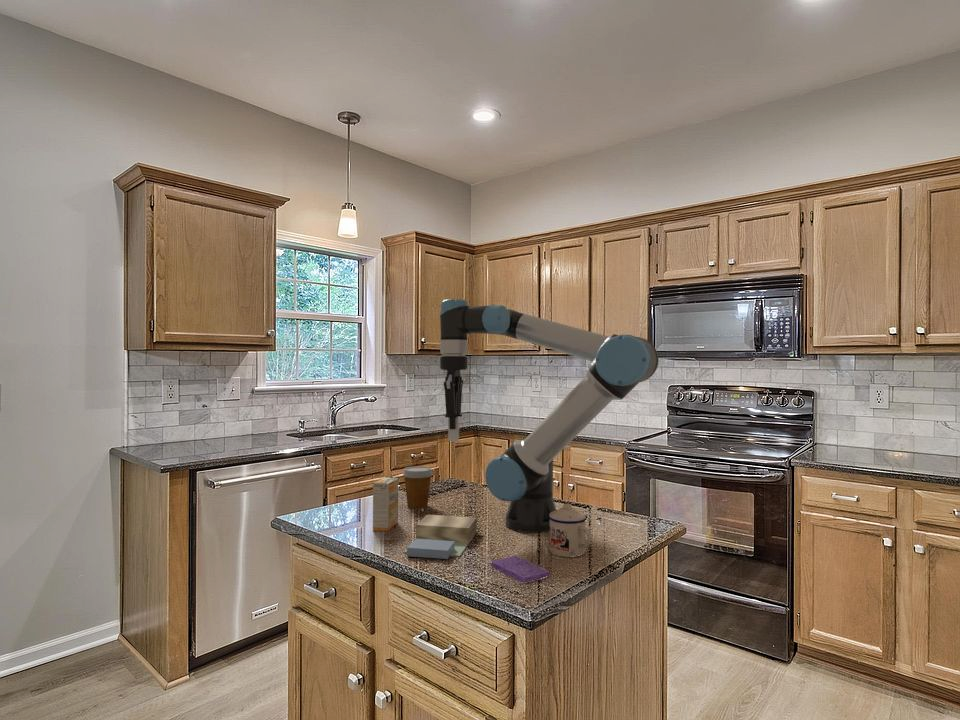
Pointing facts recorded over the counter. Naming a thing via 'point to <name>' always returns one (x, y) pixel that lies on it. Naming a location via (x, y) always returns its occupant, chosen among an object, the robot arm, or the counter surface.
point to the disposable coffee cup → (417, 486)
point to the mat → (456, 549)
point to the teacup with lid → (568, 532)
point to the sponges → (519, 569)
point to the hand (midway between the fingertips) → (453, 440)
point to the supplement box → (385, 503)
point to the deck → (447, 528)
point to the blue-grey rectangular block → (431, 548)
